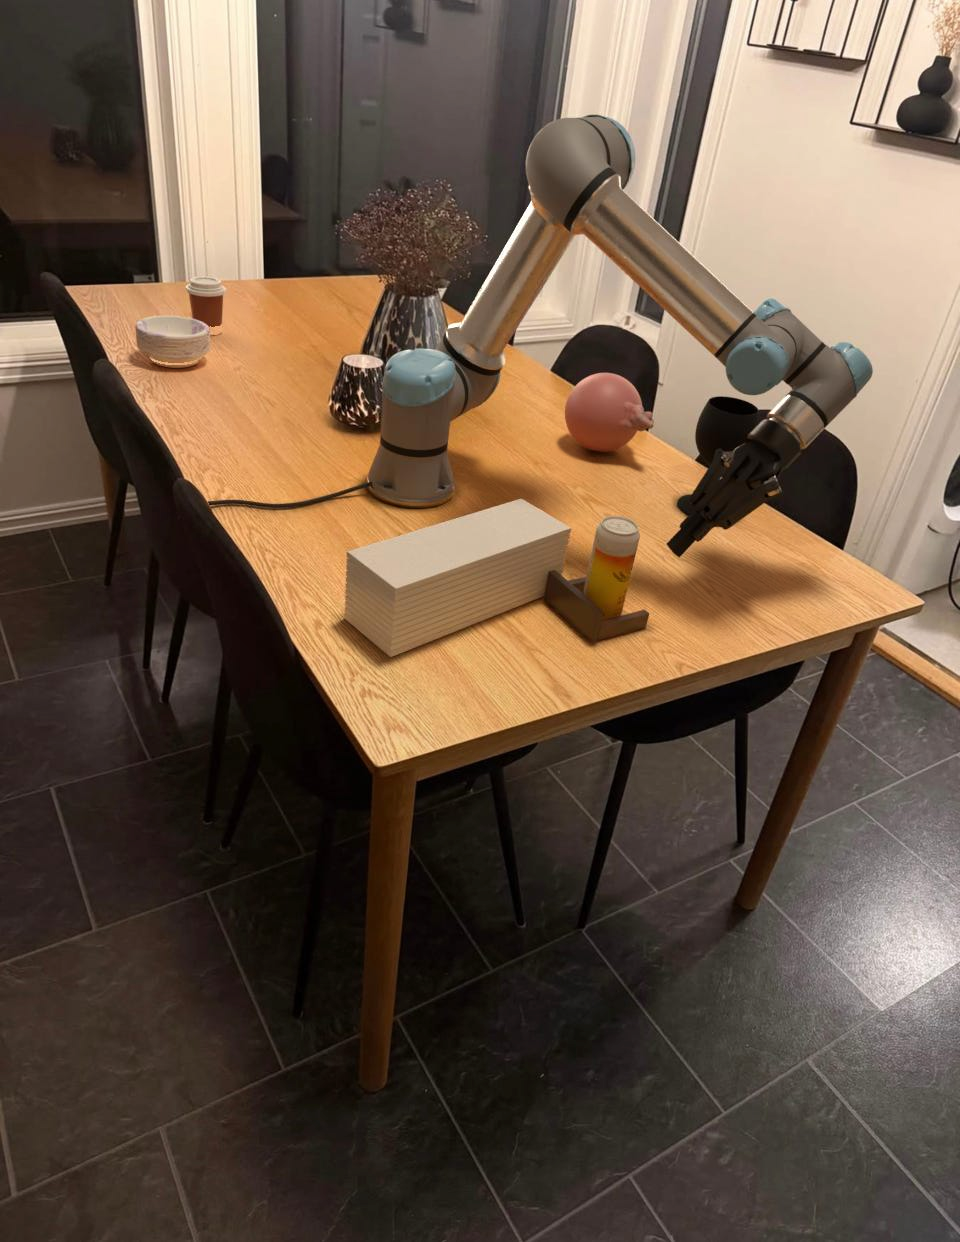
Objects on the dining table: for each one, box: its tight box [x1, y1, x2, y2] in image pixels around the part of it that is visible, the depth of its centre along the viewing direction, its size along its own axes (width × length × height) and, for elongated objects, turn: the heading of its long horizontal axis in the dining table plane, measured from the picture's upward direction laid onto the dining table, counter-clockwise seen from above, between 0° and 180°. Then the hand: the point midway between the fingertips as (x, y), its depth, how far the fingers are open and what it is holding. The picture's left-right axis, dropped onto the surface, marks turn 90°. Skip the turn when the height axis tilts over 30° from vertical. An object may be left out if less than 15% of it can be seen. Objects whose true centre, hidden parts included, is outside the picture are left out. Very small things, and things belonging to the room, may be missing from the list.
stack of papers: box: [343, 498, 572, 658], centre depth 131 cm, size 32×11×11 cm, turn 131°
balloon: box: [564, 372, 655, 453], centre depth 183 cm, size 15×20×15 cm
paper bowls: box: [135, 315, 211, 369], centre depth 200 cm, size 15×15×8 cm
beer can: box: [583, 515, 641, 620], centre depth 132 cm, size 6×6×15 cm
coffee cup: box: [185, 275, 227, 327], centre depth 217 cm, size 9×9×12 cm
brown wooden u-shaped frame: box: [543, 570, 650, 643], centre depth 135 cm, size 10×12×5 cm
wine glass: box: [676, 395, 760, 516], centre depth 165 cm, size 10×10×20 cm
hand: (672, 550), depth 138 cm, fingers closed
